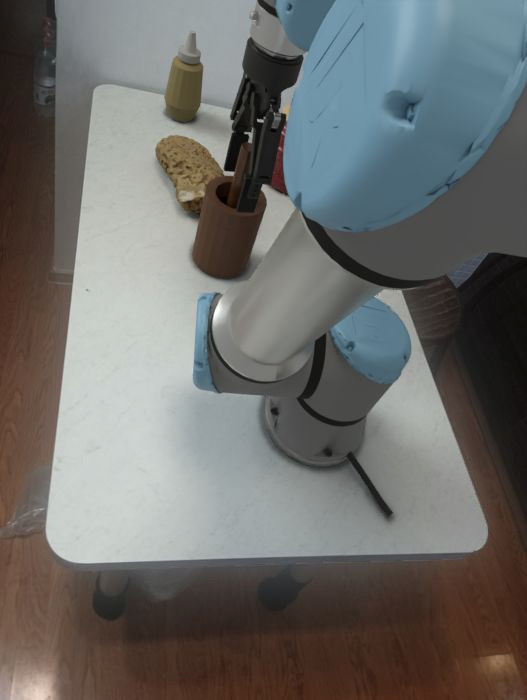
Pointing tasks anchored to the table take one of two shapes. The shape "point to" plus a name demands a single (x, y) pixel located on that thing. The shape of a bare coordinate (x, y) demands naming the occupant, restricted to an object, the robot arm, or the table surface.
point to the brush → (239, 174)
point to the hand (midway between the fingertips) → (238, 189)
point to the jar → (225, 232)
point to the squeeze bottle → (185, 82)
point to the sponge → (187, 169)
